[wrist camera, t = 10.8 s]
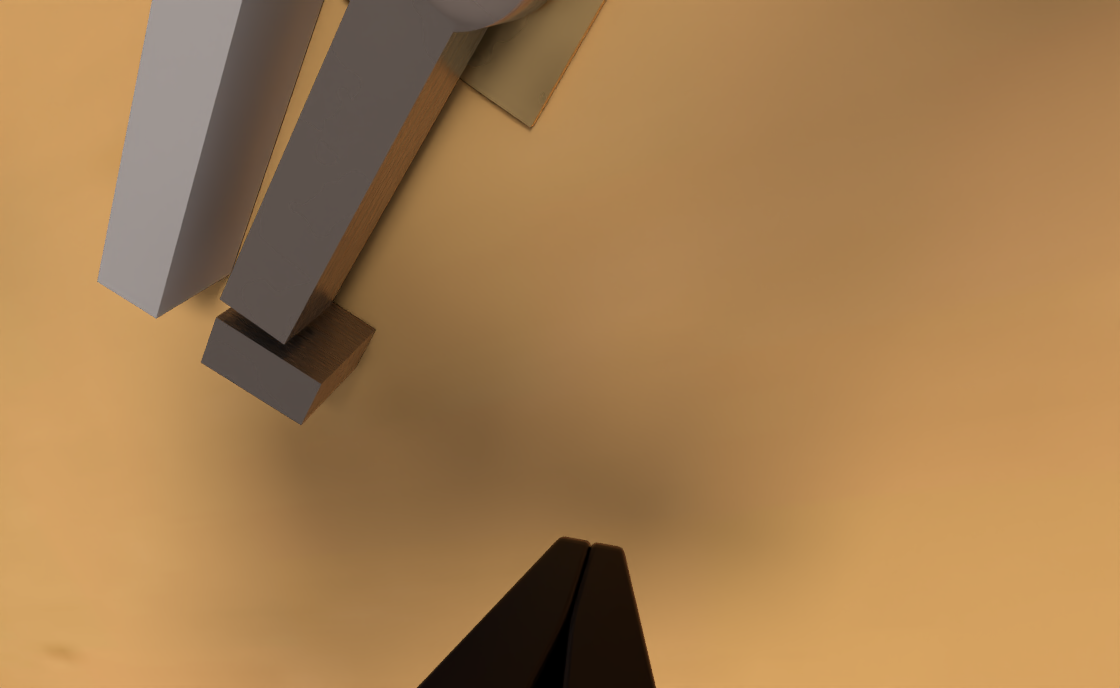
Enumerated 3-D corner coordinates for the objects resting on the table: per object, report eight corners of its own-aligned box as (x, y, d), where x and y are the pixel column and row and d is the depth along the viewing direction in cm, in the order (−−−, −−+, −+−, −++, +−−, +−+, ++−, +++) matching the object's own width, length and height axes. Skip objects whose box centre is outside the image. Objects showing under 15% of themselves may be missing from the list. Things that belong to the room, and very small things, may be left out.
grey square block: (285, 270, 22) (216, 317, 20) (375, 329, 23) (321, 384, 20) (268, 312, 24) (201, 362, 21) (355, 367, 24) (301, 425, 21)
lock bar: (463, -229, 14) (409, -266, 12) (611, -101, 15) (587, -113, 12) (251, 246, 21) (192, 280, 19) (355, 320, 22) (309, 362, 20)
